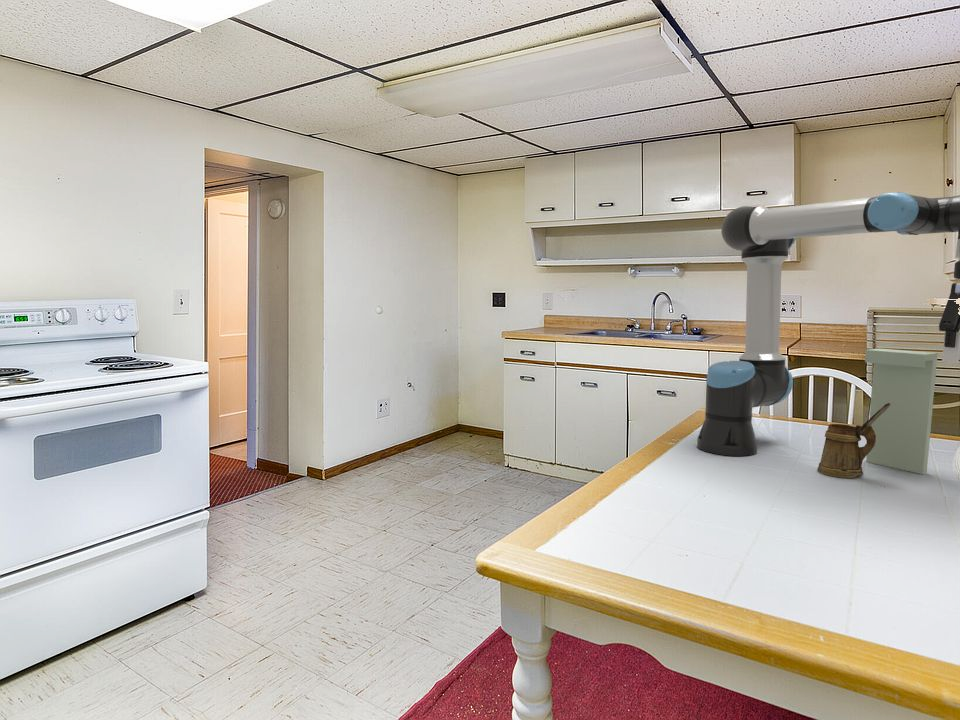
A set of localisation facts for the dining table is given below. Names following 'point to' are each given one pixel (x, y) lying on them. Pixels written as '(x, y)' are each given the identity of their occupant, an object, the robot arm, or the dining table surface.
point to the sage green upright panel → (902, 407)
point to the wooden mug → (847, 448)
